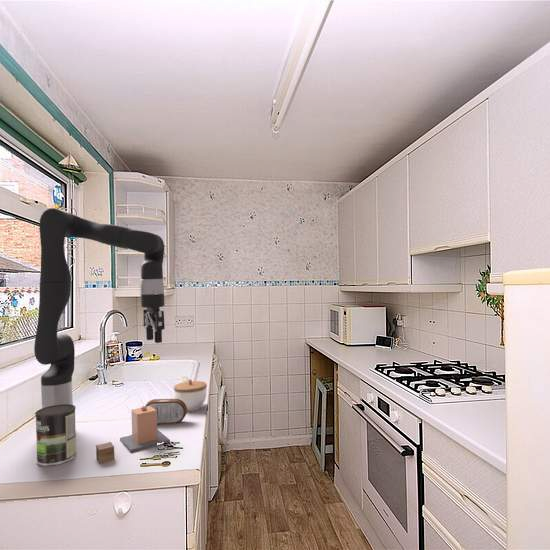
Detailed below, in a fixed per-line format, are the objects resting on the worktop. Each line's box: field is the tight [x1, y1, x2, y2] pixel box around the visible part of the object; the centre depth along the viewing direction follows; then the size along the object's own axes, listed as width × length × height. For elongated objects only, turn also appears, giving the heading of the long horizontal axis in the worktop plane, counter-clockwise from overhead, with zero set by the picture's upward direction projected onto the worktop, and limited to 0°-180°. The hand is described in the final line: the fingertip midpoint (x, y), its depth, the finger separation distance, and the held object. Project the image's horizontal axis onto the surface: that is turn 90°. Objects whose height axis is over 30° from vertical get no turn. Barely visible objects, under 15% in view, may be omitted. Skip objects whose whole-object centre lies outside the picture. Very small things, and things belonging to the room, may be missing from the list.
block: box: [95, 441, 115, 465], centre depth 118 cm, size 4×4×4 cm
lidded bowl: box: [173, 379, 208, 412], centre depth 162 cm, size 13×13×11 cm
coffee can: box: [34, 404, 77, 467], centre depth 120 cm, size 10×10×14 cm
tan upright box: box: [131, 405, 158, 444], centre depth 130 cm, size 6×6×10 cm
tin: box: [145, 398, 188, 425], centre depth 146 cm, size 15×3×8 cm, turn 92°
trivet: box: [119, 428, 171, 454], centre depth 130 cm, size 12×12×1 cm
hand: (154, 341), depth 139 cm, fingers open, 8 cm apart
